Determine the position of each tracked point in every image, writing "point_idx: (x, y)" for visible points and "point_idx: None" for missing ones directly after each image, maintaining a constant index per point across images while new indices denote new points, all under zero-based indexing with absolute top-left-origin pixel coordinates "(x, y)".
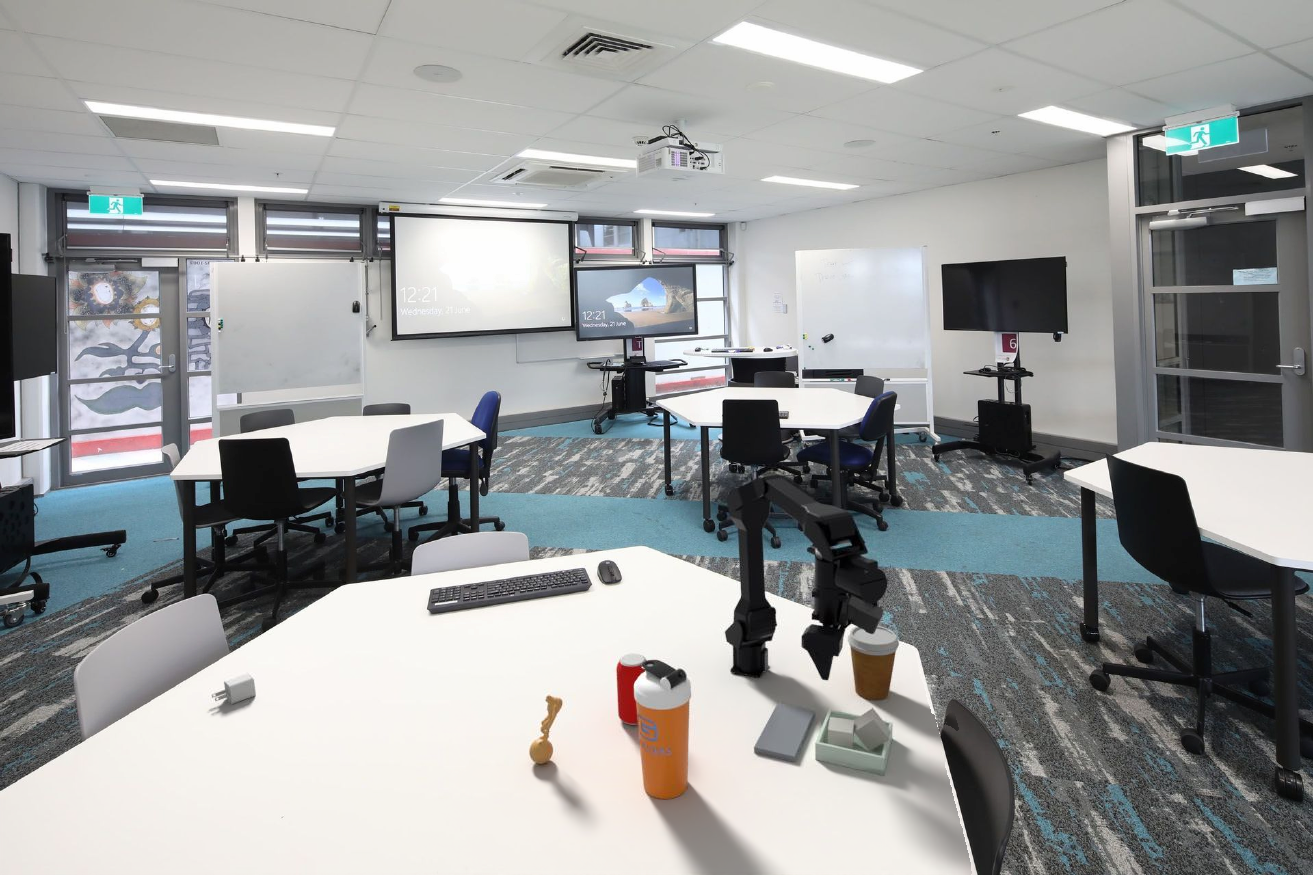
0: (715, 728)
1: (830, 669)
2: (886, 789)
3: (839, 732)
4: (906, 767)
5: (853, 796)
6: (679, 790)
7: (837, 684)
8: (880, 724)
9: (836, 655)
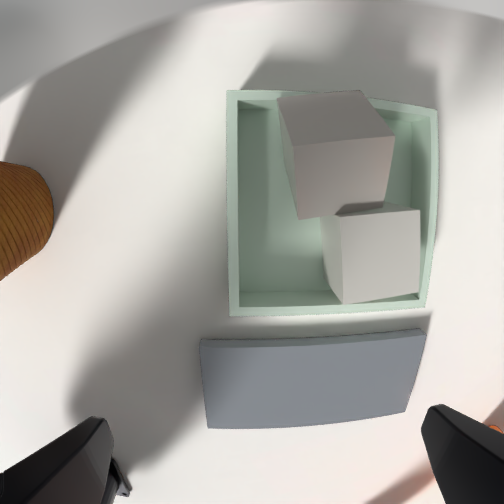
0: (334, 475)
1: (488, 436)
2: (451, 113)
3: (417, 253)
4: (357, 62)
5: (488, 183)
6: (498, 429)
7: (30, 305)
8: (347, 113)
9: (107, 429)
